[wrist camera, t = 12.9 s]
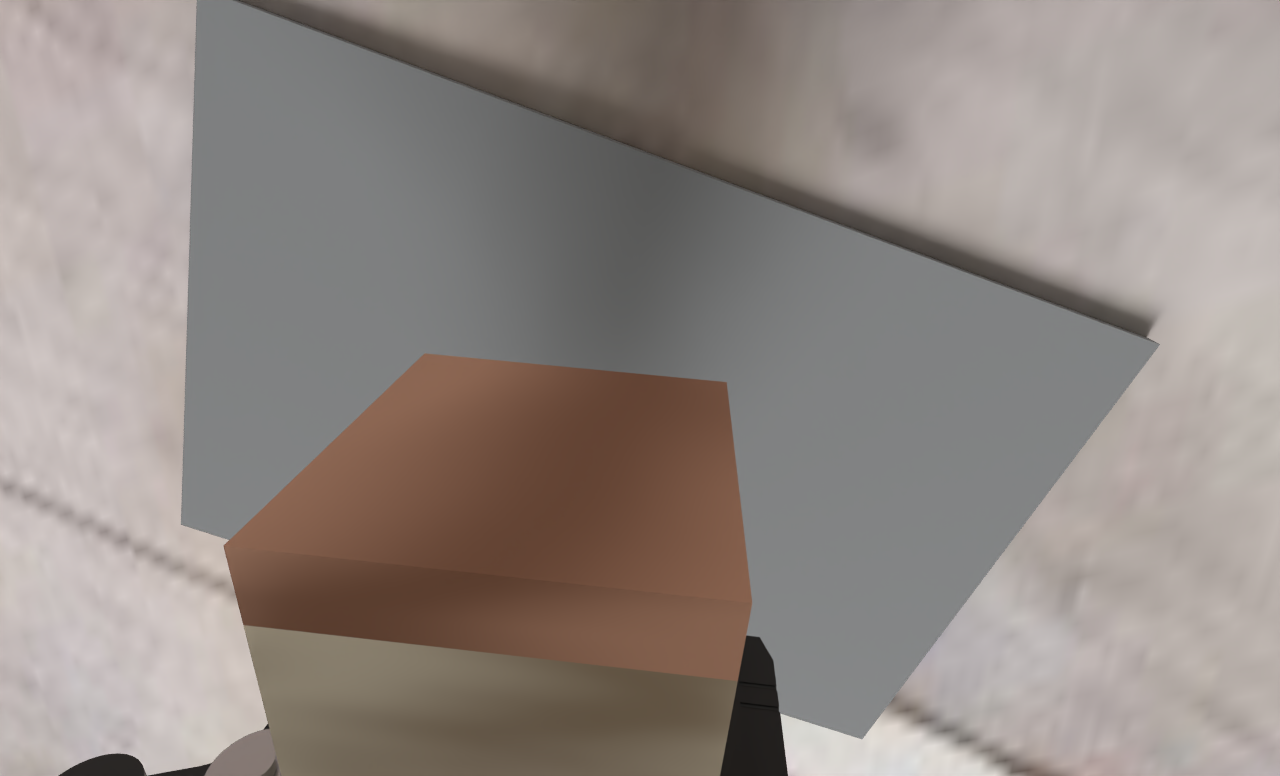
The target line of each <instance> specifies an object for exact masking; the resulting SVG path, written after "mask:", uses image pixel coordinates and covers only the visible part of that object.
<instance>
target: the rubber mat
mask: <svg viewBox="0 0 1280 776" xmlns="http://www.w3.org/2000/svg"><path fill="white" fill-rule="evenodd" d="M1159 345H1160V344H1158V343H1156V342H1154V341H1152V340H1151V339H1149V338H1146V337H1144V336H1141V335H1138V334H1136V333H1133V332H1130V331H1128V330H1125V329H1122V328H1119V327H1117V326H1114V325H1111V324H1109V323H1106V322H1103V321H1101V320H1098V319H1095V318H1093V317H1090V316H1087V315H1084V314H1082V313H1079V312H1076V311H1074V310H1071V309H1068V308H1066V307H1063V306H1060V305H1058V304H1055V303H1052V302H1049V301H1047V300H1044V299H1041V298H1039V297H1036V296H1033V295H1031V294H1028V293H1025V292H1023V291H1020V290H1017V289H1014V288H1012V287H1009V286H1006V285H1004V284H1001V283H998V282H996V281H993V280H990V279H988V278H985V277H982V276H979V275H977V274H974V273H971V272H969V271H966V270H963V269H961V268H958V267H955V266H953V265H950V264H947V263H944V262H942V261H939V260H936V259H934V258H931V257H928V256H926V255H923V254H920V253H918V252H915V251H912V250H909V249H907V248H904V247H901V246H899V245H896V244H893V243H891V242H888V241H885V240H883V239H880V238H877V237H874V236H872V235H869V234H866V233H864V232H861V231H858V230H856V229H853V228H850V227H848V226H845V225H842V224H839V223H837V222H834V221H831V220H829V219H826V218H823V217H821V216H818V215H815V214H813V213H810V212H807V211H804V210H802V209H799V208H796V207H794V206H791V205H788V204H786V203H783V202H780V201H778V200H775V199H772V198H770V197H767V196H764V195H761V194H759V193H756V192H753V191H751V190H748V189H745V188H743V187H740V186H737V185H735V184H732V183H729V182H726V181H724V180H721V179H718V178H716V177H713V176H710V175H708V174H705V173H702V172H700V171H697V170H694V169H691V168H689V167H686V166H683V165H681V164H678V163H675V162H673V161H670V160H667V159H665V158H662V157H659V156H656V155H654V154H651V153H648V152H646V151H643V150H640V149H638V148H635V147H632V146H630V145H627V144H624V143H621V142H619V141H616V140H613V139H611V138H608V137H605V136H603V135H600V134H597V133H595V132H592V131H589V130H586V129H584V128H581V127H578V126H576V125H573V124H570V123H568V122H565V121H562V120H560V119H557V118H554V117H551V116H549V115H546V114H543V113H541V112H538V111H535V110H533V109H530V108H527V107H525V106H522V105H519V104H516V103H514V102H511V101H508V100H506V99H503V98H500V97H498V96H495V95H492V94H490V93H487V92H484V91H481V90H479V89H476V88H473V87H471V86H468V85H465V84H463V83H460V82H457V81H455V80H452V79H449V78H447V77H444V76H441V75H438V74H436V73H433V72H430V71H428V70H425V69H422V68H420V67H417V66H414V65H412V64H409V63H406V62H403V61H401V60H398V59H395V58H393V57H390V56H387V55H385V54H382V53H379V52H377V51H374V50H371V49H368V48H366V47H363V46H360V45H358V44H355V43H352V42H350V41H347V40H344V39H342V38H339V37H336V36H333V35H331V34H328V33H325V32H323V31H320V30H317V29H315V28H312V27H309V26H307V25H304V24H301V23H298V22H296V21H293V20H290V19H288V18H285V17H282V16H280V15H277V14H274V13H272V12H269V11H266V10H263V9H261V8H258V7H255V6H253V5H250V4H247V3H245V2H242V1H239V0H197V14H196V47H195V80H194V113H193V146H192V179H191V212H190V245H189V278H188V312H187V345H186V378H185V411H184V444H183V477H182V510H181V525H184V526H187V527H190V528H193V529H196V530H199V531H203V532H206V533H209V534H212V535H215V536H218V537H222V538H225V539H228V540H230V539H231V538H232V537H233V536H234V535H235V534H236V533H237V532H238V531H239V530H241V529H242V528H243V527H244V526H245V525H246V524H247V523H248V522H249V521H250V520H251V519H252V518H253V517H254V516H255V515H256V514H257V513H258V512H259V511H260V510H261V509H262V508H264V507H265V506H266V505H267V504H268V503H269V502H270V501H271V500H272V499H273V498H274V497H275V496H276V495H277V494H278V493H279V492H280V491H281V490H282V489H283V488H284V487H285V486H287V485H288V484H289V483H290V482H291V481H292V480H293V479H294V478H295V477H296V476H297V475H298V474H299V473H300V472H301V471H302V470H303V469H304V468H305V467H306V466H307V465H308V464H310V463H311V462H312V461H313V460H314V459H315V458H316V457H317V456H318V455H319V454H320V453H321V452H322V451H323V450H324V449H325V448H326V447H327V446H328V445H329V444H330V443H331V442H333V441H334V440H335V439H336V438H337V437H338V436H339V435H340V434H341V433H342V432H343V431H344V430H345V429H346V428H347V427H348V426H349V425H350V424H351V423H352V422H353V421H354V420H356V419H357V418H358V417H359V416H360V415H361V414H362V413H363V412H364V411H365V410H366V409H367V408H368V407H369V406H370V405H371V404H372V403H373V402H374V401H375V400H376V399H377V398H379V397H380V396H381V395H382V394H383V393H384V392H385V391H386V390H387V389H388V388H389V387H390V386H391V385H392V384H393V383H394V382H395V381H396V380H397V379H398V378H399V377H400V376H402V375H403V374H404V373H405V372H406V371H407V370H408V369H409V368H410V367H411V366H412V365H413V364H414V363H415V362H416V361H417V360H418V359H419V358H420V357H421V356H422V355H423V354H425V353H426V354H436V355H447V356H457V357H468V358H478V359H489V360H499V361H510V362H520V363H531V364H542V365H552V366H563V367H573V368H584V369H594V370H605V371H615V372H626V373H636V374H647V375H657V376H668V377H678V378H689V379H700V380H710V381H721V382H727V389H728V398H729V406H730V415H731V423H732V432H733V441H734V449H735V458H736V467H737V475H738V484H739V492H740V501H741V510H742V518H743V527H744V536H745V544H746V553H747V561H748V570H749V579H750V587H751V596H752V608H751V613H750V618H749V624H748V629H747V634H746V635H747V636H756V637H760V638H761V640H762V642H763V644H764V645H765V647H766V649H767V650H768V652H769V654H770V655H771V657H772V659H773V661H774V669H775V677H776V685H777V687H776V691H777V693H778V701H779V712H780V713H781V714H784V715H787V716H790V717H793V718H797V719H800V720H803V721H806V722H809V723H812V724H816V725H819V726H822V727H825V728H828V729H831V730H835V731H838V732H841V733H844V734H847V735H850V736H854V737H857V738H860V739H863V737H864V736H865V735H866V733H867V732H868V731H869V729H870V728H871V727H872V726H873V724H874V723H875V722H876V720H877V719H878V718H879V716H880V715H881V714H882V712H883V711H884V710H885V708H886V707H887V706H888V704H889V703H890V702H891V700H892V699H893V698H894V696H895V695H896V694H897V692H898V691H899V690H900V688H901V687H902V686H903V684H904V683H905V682H906V680H907V679H908V678H909V676H910V675H911V674H912V672H913V671H914V670H915V669H916V667H917V666H918V665H919V663H920V662H921V661H922V659H923V658H924V657H925V655H926V654H927V653H928V651H929V650H930V649H931V647H932V646H933V645H934V643H935V642H936V641H937V639H938V638H939V637H940V635H941V634H942V633H943V631H944V630H945V629H946V627H947V626H948V625H949V623H950V622H951V621H952V619H953V618H954V617H955V616H956V614H957V613H958V612H959V610H960V609H961V608H962V606H963V605H964V604H965V602H966V601H967V600H968V598H969V597H970V596H971V594H972V593H973V592H974V590H975V589H976V588H977V586H978V585H979V584H980V582H981V581H982V580H983V578H984V577H985V576H986V574H987V573H988V572H989V570H990V569H991V568H992V566H993V565H994V564H995V562H996V561H997V560H998V559H999V557H1000V556H1001V555H1002V553H1003V552H1004V551H1005V549H1006V548H1007V547H1008V545H1009V544H1010V543H1011V541H1012V540H1013V539H1014V537H1015V536H1016V535H1017V533H1018V532H1019V531H1020V529H1021V528H1022V527H1023V525H1024V524H1025V523H1026V521H1027V520H1028V519H1029V517H1030V516H1031V515H1032V513H1033V512H1034V511H1035V509H1036V508H1037V507H1038V505H1039V504H1040V503H1041V502H1042V500H1043V499H1044V498H1045V496H1046V495H1047V494H1048V492H1049V491H1050V490H1051V488H1052V487H1053V486H1054V484H1055V483H1056V482H1057V480H1058V479H1059V478H1060V476H1061V475H1062V474H1063V472H1064V471H1065V470H1066V468H1067V467H1068V466H1069V464H1070V463H1071V462H1072V460H1073V459H1074V458H1075V456H1076V455H1077V454H1078V452H1079V451H1080V450H1081V448H1082V447H1083V446H1084V445H1085V443H1086V442H1087V441H1088V439H1089V438H1090V437H1091V435H1092V434H1093V433H1094V431H1095V430H1096V429H1097V427H1098V426H1099V425H1100V423H1101V422H1102V421H1103V419H1104V418H1105V417H1106V415H1107V414H1108V413H1109V411H1110V410H1111V409H1112V407H1113V406H1114V405H1115V403H1116V402H1117V401H1118V399H1119V398H1120V397H1121V395H1122V394H1123V393H1124V391H1125V390H1126V389H1127V388H1128V386H1129V385H1130V384H1131V382H1132V381H1133V380H1134V378H1135V377H1136V376H1137V374H1138V373H1139V372H1140V370H1141V369H1142V368H1143V366H1144V365H1145V364H1146V362H1147V361H1148V360H1149V358H1150V357H1151V356H1152V354H1153V353H1154V352H1155V350H1156V349H1157V348H1158V346H1159Z"/></svg>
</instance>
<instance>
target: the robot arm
mask: <svg viewBox="0 0 1280 776" xmlns="http://www.w3.org/2000/svg"><path fill="white" fill-rule="evenodd" d="M776 687H777V685H776V677H775V669H774V661H773V659H772V657H771V655H770V654H769V652H768V650H767V649H766V647H765V645H764V644H763V642H762V640H761V638H760V637H756V636H747V635H746V640H745V645H744V650H743V656H742V661H741V666H740V672H739V677H738V682H737V688H736V693H735V698H734V704H733V709H732V714H731V720H730V725H729V730H728V736H727V741H726V746H725V752H724V757H723V762H722V768H721V773H720V776H788V773H787V765H786V757H785V749H784V741H783V733H782V725H781V717H780V712H779V701H778V693H777V691H776ZM59 776H147V775H146V773H145V770H144V768H143V765H142V764H141V762H140V761H139V760H138V759H136V758H135V757H133V756H130V755H127V754H108V755H103V756H99V757H95V758H92V759H89V760H87V761H84V762H82V763H80V764H78V765H76V766H74V767H72V768H70V769H68V770H67V771H65V772H64V773H62V774H60V775H59ZM149 776H281V772H280V768H279V764H278V760H277V756H276V752H275V748H274V744H273V740H272V736H271V733H270V729H269V725H268V724H267V726H266V727H265V728H264V730H261V731H257V732H254V733H252V734H249V735H247V736H245V737H243V738H241V739H239V740H238V741H236V742H234V743H233V744H231V745H230V746H229V747H227V748H226V749H225V750H224V751H223V752H222V753H221V754H220V755H219V756H218V757H217V758H216V759H215V760H214V761H213V762H212V763H211V764H207V765H203V766H199V767H193V768H188V769H182V770H177V771H171V772H165V773H160V774H154V775H149Z"/></svg>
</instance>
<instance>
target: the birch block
mask: <svg viewBox="0 0 1280 776" xmlns="http://www.w3.org/2000/svg"><path fill="white" fill-rule="evenodd" d="M224 550H225V554H226V558H227V562H228V566H229V570H230V574H231V578H232V582H233V585H234V589H235V593H236V597H237V601H238V605H239V609H240V613H241V617H242V621H243V625H244V629H245V633H246V637H247V641H248V645H249V649H250V653H251V657H252V661H253V665H254V669H255V673H256V677H257V681H258V685H259V689H260V693H261V697H262V701H263V705H264V709H265V713H266V717H267V721H268V725H269V729H270V733H271V736H272V740H273V744H274V748H275V752H276V756H277V760H278V764H279V768H280V772H281V776H720V773H721V768H722V762H723V757H724V752H725V746H726V741H727V736H728V730H729V725H730V720H731V714H732V709H733V704H734V698H735V693H736V688H737V682H738V677H739V672H740V666H741V661H742V656H743V650H744V645H745V640H746V634H747V629H748V624H749V618H750V613H751V608H752V596H751V587H750V579H749V570H748V561H747V553H746V544H745V536H744V527H743V518H742V510H741V501H740V492H739V484H738V475H737V467H736V458H735V449H734V441H733V432H732V423H731V415H730V406H729V398H728V389H727V382H721V381H710V380H700V379H689V378H678V377H668V376H657V375H647V374H636V373H626V372H615V371H605V370H594V369H584V368H573V367H563V366H552V365H542V364H531V363H520V362H510V361H499V360H489V359H478V358H468V357H457V356H447V355H436V354H426V353H425V354H423V355H422V356H421V357H420V358H419V359H418V360H417V361H416V362H415V363H414V364H413V365H412V366H411V367H410V368H409V369H408V370H407V371H406V372H405V373H404V374H403V375H402V376H400V377H399V378H398V379H397V380H396V381H395V382H394V383H393V384H392V385H391V386H390V387H389V388H388V389H387V390H386V391H385V392H384V393H383V394H382V395H381V396H380V397H379V398H377V399H376V400H375V401H374V402H373V403H372V404H371V405H370V406H369V407H368V408H367V409H366V410H365V411H364V412H363V413H362V414H361V415H360V416H359V417H358V418H357V419H356V420H354V421H353V422H352V423H351V424H350V425H349V426H348V427H347V428H346V429H345V430H344V431H343V432H342V433H341V434H340V435H339V436H338V437H337V438H336V439H335V440H334V441H333V442H331V443H330V444H329V445H328V446H327V447H326V448H325V449H324V450H323V451H322V452H321V453H320V454H319V455H318V456H317V457H316V458H315V459H314V460H313V461H312V462H311V463H310V464H308V465H307V466H306V467H305V468H304V469H303V470H302V471H301V472H300V473H299V474H298V475H297V476H296V477H295V478H294V479H293V480H292V481H291V482H290V483H289V484H288V485H287V486H285V487H284V488H283V489H282V490H281V491H280V492H279V493H278V494H277V495H276V496H275V497H274V498H273V499H272V500H271V501H270V502H269V503H268V504H267V505H266V506H265V507H264V508H262V509H261V510H260V511H259V512H258V513H257V514H256V515H255V516H254V517H253V518H252V519H251V520H250V521H249V522H248V523H247V524H246V525H245V526H244V527H243V528H242V529H241V530H239V531H238V532H237V533H236V534H235V535H234V536H233V537H232V538H231V539H230V540H229V541H228V542H227V543H226V544H225V545H224Z"/></svg>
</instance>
